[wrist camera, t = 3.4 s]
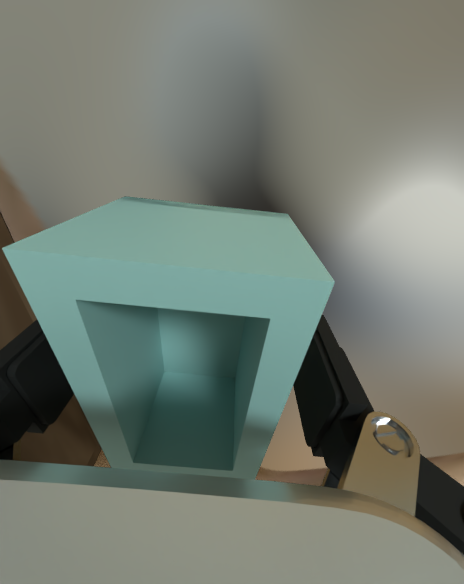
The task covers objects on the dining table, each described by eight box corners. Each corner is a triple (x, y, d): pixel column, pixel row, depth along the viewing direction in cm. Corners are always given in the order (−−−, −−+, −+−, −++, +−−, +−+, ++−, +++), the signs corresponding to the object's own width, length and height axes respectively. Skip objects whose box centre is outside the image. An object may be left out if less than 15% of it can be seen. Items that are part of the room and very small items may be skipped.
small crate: (287, 214, 8) (334, 282, 4) (249, 380, 14) (253, 482, 10) (125, 196, 8) (1, 248, 4) (152, 371, 14) (112, 470, 9)
